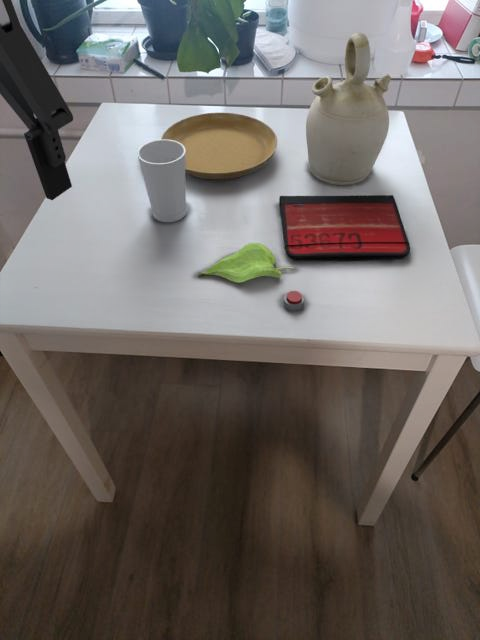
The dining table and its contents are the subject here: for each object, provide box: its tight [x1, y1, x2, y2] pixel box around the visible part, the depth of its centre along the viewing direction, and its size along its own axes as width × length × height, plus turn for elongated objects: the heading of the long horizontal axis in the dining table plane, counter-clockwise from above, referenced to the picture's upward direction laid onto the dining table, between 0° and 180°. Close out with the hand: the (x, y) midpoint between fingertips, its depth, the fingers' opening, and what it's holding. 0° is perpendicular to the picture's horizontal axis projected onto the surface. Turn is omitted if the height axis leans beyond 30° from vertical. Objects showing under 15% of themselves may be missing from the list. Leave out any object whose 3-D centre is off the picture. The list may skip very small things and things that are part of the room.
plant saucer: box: [160, 112, 278, 180], centre depth 102 cm, size 24×24×3 cm
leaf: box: [197, 242, 295, 284], centre depth 79 cm, size 9×16×2 cm, turn 92°
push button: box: [283, 290, 305, 311], centre depth 74 cm, size 3×3×2 cm
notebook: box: [278, 194, 411, 262], centre depth 85 cm, size 16×2×21 cm
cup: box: [136, 139, 188, 223], centre depth 85 cm, size 8×8×12 cm
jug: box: [305, 32, 392, 186], centre depth 90 cm, size 15×16×25 cm
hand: (10, 173), depth 50 cm, fingers open, 13 cm apart
